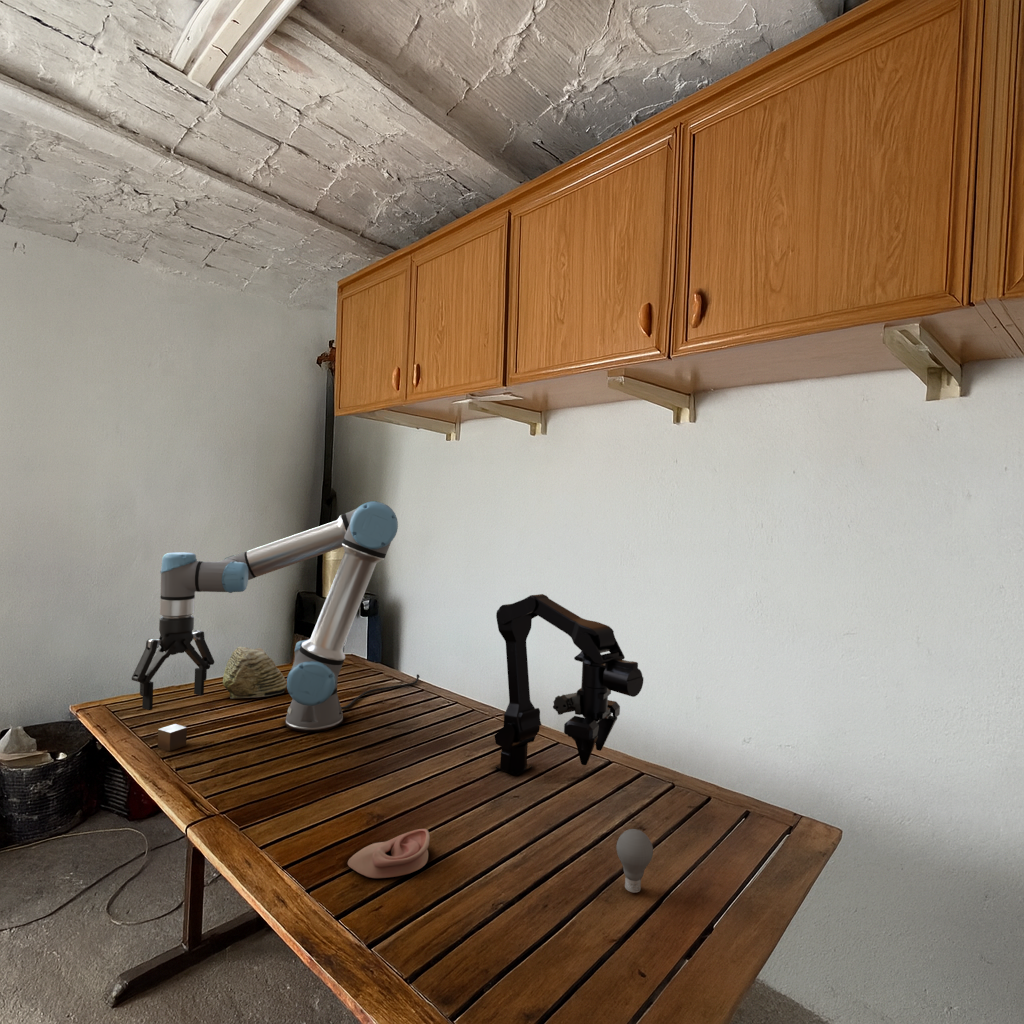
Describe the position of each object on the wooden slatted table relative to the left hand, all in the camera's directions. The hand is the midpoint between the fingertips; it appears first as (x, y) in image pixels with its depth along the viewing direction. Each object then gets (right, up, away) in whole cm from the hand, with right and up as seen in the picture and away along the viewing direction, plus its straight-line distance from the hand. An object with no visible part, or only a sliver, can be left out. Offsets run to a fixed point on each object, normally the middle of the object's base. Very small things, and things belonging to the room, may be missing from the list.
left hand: (174, 701), depth 156 cm
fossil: (+3, -11, +42) cm, 43 cm away
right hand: (+100, -6, -21) cm, 103 cm away
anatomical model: (+62, -15, -45) cm, 78 cm away
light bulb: (+103, -17, -50) cm, 116 cm away
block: (-1, -11, 0) cm, 11 cm away
